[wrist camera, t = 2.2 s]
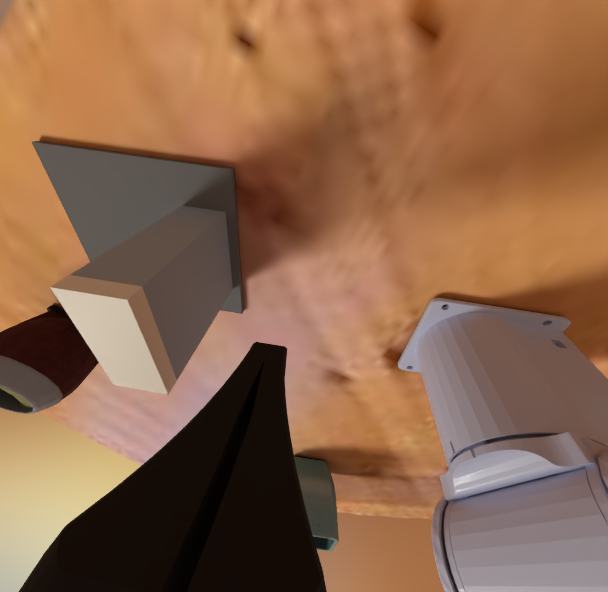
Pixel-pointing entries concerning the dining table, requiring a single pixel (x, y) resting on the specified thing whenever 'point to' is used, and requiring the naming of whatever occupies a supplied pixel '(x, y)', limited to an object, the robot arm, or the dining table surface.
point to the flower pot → (319, 501)
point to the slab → (152, 297)
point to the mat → (137, 197)
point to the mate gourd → (42, 362)
